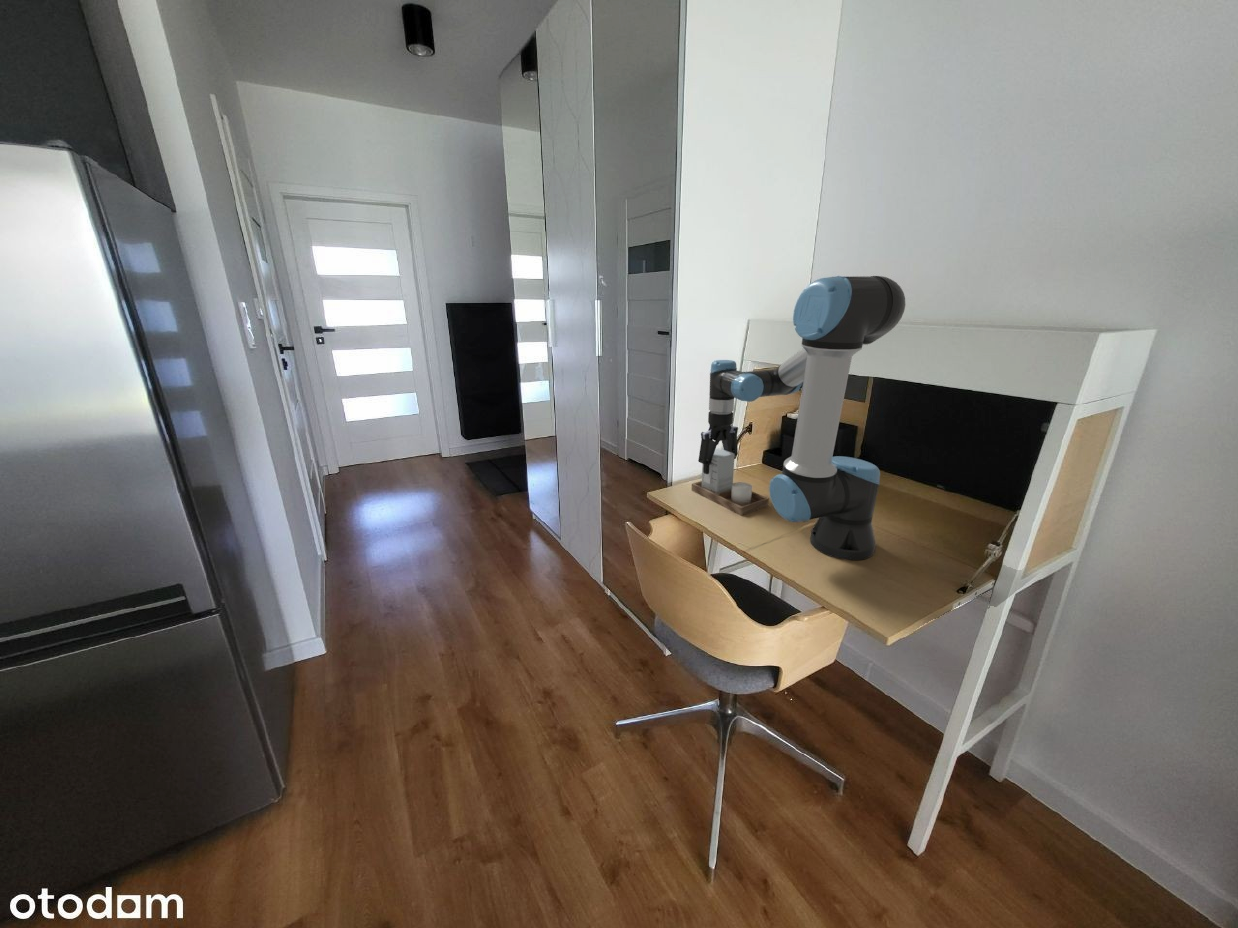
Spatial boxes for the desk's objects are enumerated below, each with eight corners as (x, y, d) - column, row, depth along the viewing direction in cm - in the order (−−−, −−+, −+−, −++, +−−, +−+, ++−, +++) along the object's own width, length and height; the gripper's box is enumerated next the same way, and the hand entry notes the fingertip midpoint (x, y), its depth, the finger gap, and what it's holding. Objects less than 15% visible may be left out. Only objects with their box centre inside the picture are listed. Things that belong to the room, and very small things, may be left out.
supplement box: (716, 482, 155) (718, 447, 151) (733, 489, 149) (735, 453, 145) (700, 487, 151) (702, 451, 147) (716, 495, 145) (718, 457, 141)
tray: (768, 507, 140) (768, 498, 139) (740, 517, 135) (741, 508, 134) (717, 484, 158) (717, 476, 157) (691, 492, 153) (691, 483, 152)
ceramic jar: (754, 504, 141) (756, 486, 139) (740, 509, 138) (742, 491, 136) (740, 498, 146) (741, 480, 144) (726, 502, 143) (727, 485, 141)
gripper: (735, 404, 149) (731, 469, 157) (687, 413, 139) (685, 482, 147) (753, 409, 143) (747, 476, 151) (704, 418, 133) (701, 490, 141)
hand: (717, 479), depth 149 cm, fingers closed on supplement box, 7 cm apart
